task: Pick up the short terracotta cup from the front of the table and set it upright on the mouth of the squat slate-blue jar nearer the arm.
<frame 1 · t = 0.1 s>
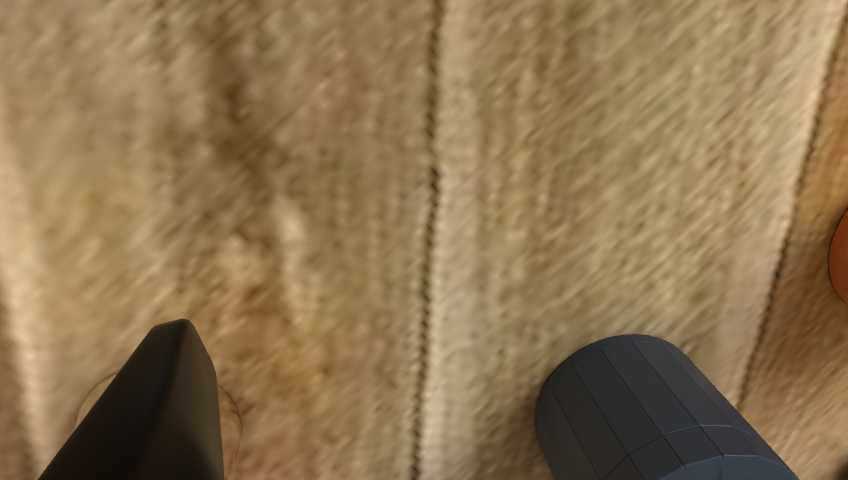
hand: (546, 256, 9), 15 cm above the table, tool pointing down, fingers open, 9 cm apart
beer glass: (162, 425, 27), on the table
jar: (616, 407, 30), on the table
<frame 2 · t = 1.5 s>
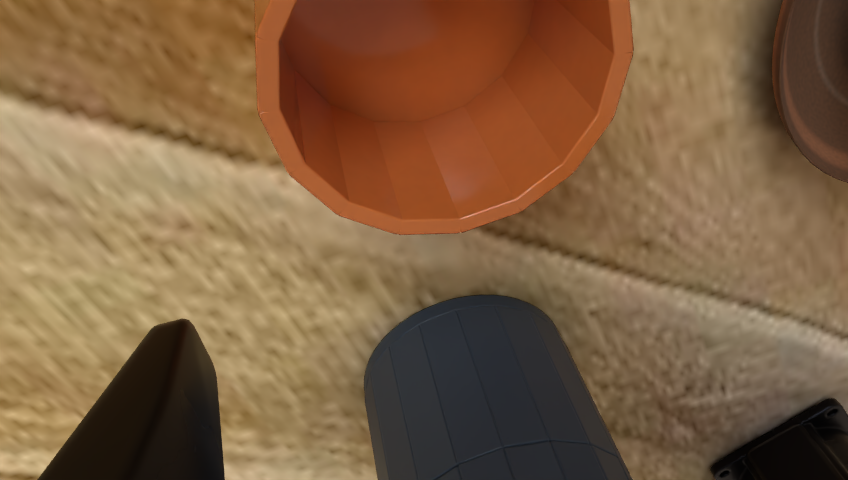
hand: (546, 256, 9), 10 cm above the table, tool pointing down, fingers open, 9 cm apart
jar: (464, 370, 25), on the table
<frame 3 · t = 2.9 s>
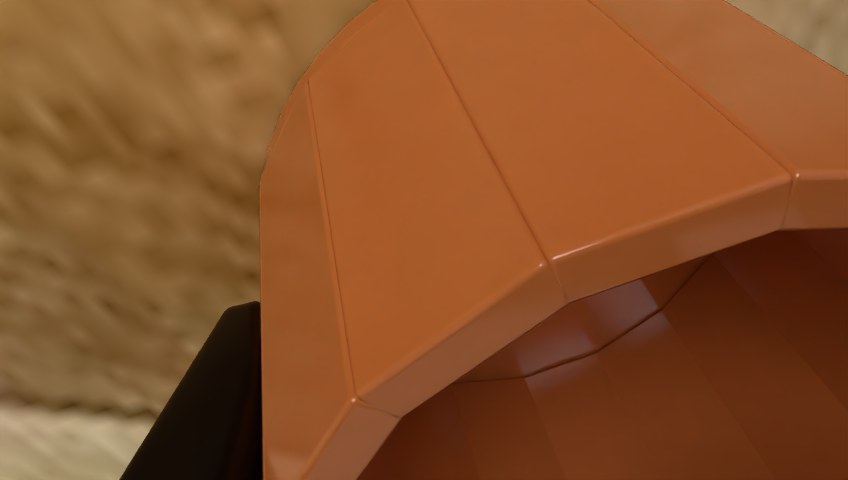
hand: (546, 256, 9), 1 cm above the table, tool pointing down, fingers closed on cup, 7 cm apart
cup: (515, 201, 10), on the table, touching gripper
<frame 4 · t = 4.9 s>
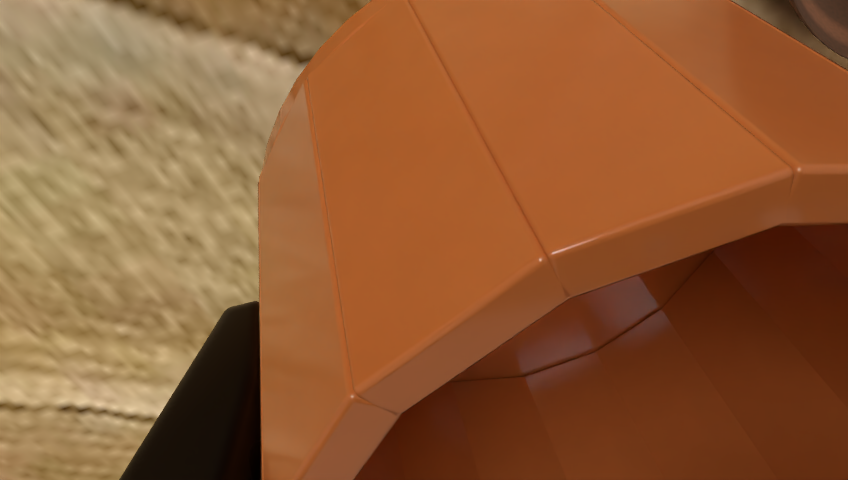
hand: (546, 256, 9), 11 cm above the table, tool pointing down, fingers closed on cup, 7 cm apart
cup: (514, 199, 10), point 10 cm above the table, touching gripper
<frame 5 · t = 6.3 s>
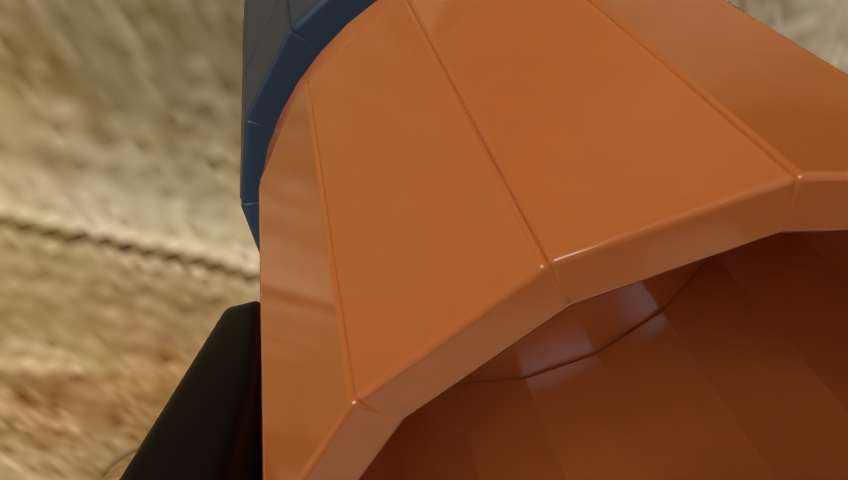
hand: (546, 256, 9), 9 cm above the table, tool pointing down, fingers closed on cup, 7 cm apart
jar: (410, 9, 16), on the table
cup: (515, 202, 10), point 8 cm above the table, touching gripper
when the fingers open (9 cm above the table, at t = 7.0 s): cup stays where it is, resting on jar.
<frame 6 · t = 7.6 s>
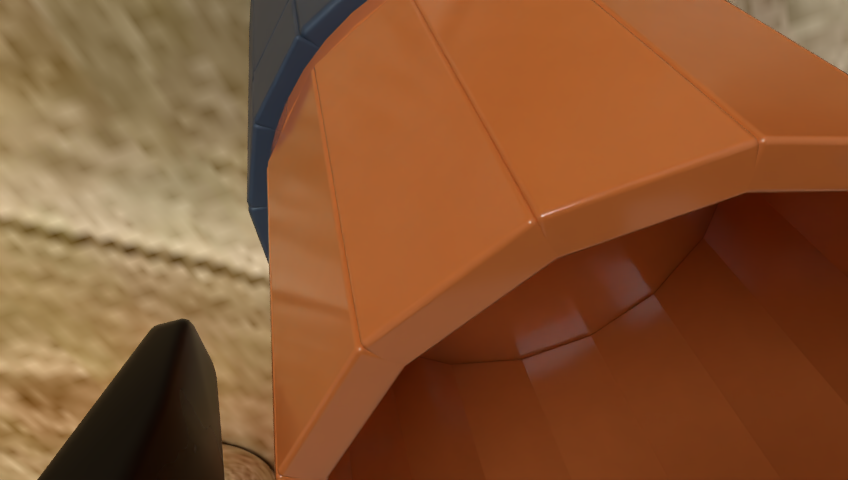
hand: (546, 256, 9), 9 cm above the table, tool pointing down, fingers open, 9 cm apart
jar: (415, 13, 16), on the table, touching cup
cup: (512, 187, 10), point 7 cm above the table, touching jar
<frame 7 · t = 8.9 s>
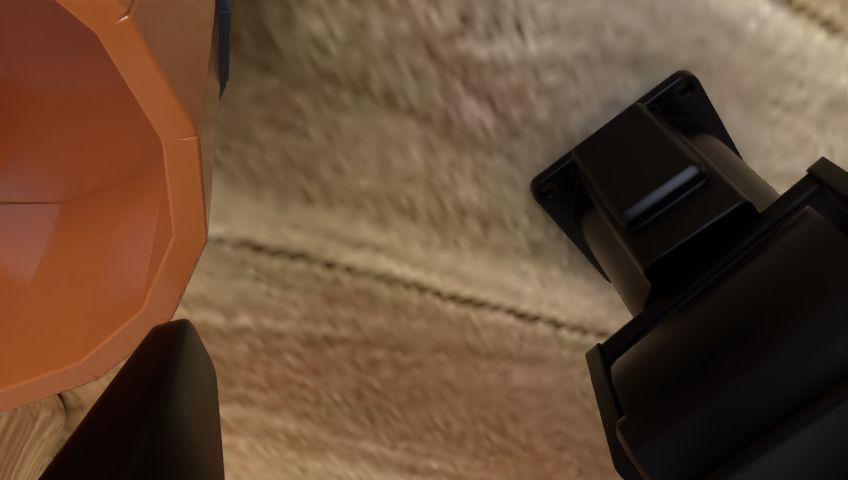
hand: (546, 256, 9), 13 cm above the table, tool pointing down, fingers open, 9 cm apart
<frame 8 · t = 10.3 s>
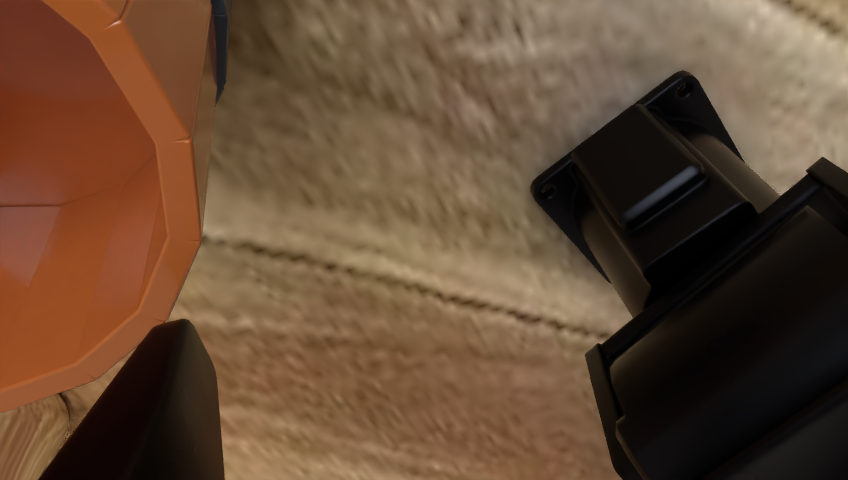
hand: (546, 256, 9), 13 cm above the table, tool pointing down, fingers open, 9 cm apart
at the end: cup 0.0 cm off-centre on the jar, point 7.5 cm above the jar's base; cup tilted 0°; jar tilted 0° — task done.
